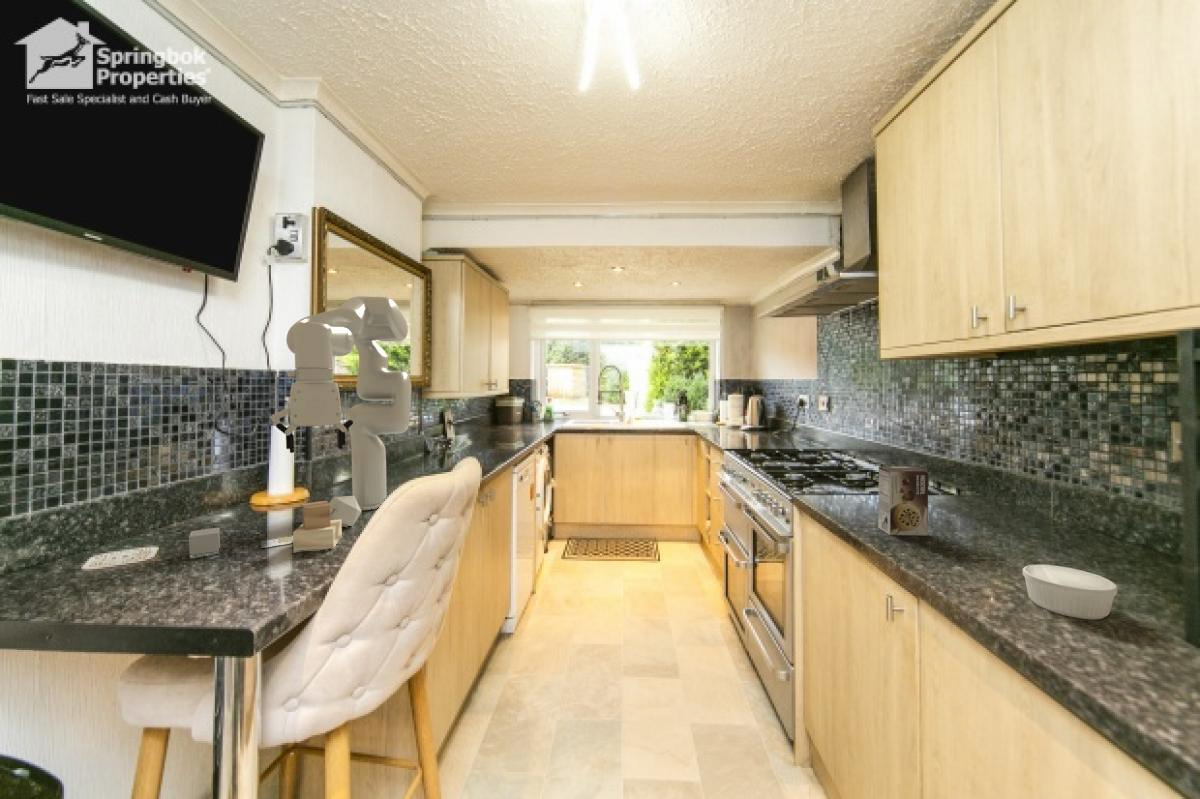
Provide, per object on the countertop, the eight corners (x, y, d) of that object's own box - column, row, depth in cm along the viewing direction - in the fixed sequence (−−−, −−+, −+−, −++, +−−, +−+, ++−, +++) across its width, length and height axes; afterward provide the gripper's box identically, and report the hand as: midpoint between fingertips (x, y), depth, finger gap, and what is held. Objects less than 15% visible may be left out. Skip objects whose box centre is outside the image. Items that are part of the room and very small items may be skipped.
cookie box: (914, 528, 124) (915, 466, 123) (928, 536, 117) (930, 470, 117) (876, 527, 124) (877, 465, 124) (889, 535, 118) (890, 470, 117)
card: (260, 542, 114) (260, 540, 114) (299, 536, 119) (299, 534, 119) (260, 549, 110) (260, 547, 110) (301, 542, 114) (301, 540, 114)
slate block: (191, 553, 108) (191, 531, 107) (220, 548, 110) (219, 527, 110) (189, 559, 103) (188, 537, 103) (219, 555, 106) (218, 532, 106)
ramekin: (1004, 593, 86) (1005, 564, 85) (1063, 591, 86) (1064, 562, 86) (1070, 625, 74) (1071, 591, 74) (1136, 622, 75) (1138, 589, 75)
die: (321, 528, 128) (313, 504, 122) (346, 505, 134) (340, 482, 129) (344, 541, 126) (338, 518, 120) (370, 518, 133) (364, 495, 127)
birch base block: (304, 542, 115) (304, 522, 115) (341, 539, 117) (341, 519, 117) (293, 554, 107) (293, 532, 107) (333, 550, 109) (333, 528, 109)
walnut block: (302, 525, 112) (302, 503, 112) (327, 521, 115) (326, 500, 115) (305, 530, 108) (304, 508, 108) (330, 526, 111) (329, 504, 111)
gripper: (269, 376, 103) (272, 455, 103) (358, 376, 113) (360, 448, 113) (268, 376, 109) (271, 451, 109) (353, 376, 119) (355, 445, 120)
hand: (316, 450), depth 111 cm, fingers open, 9 cm apart
